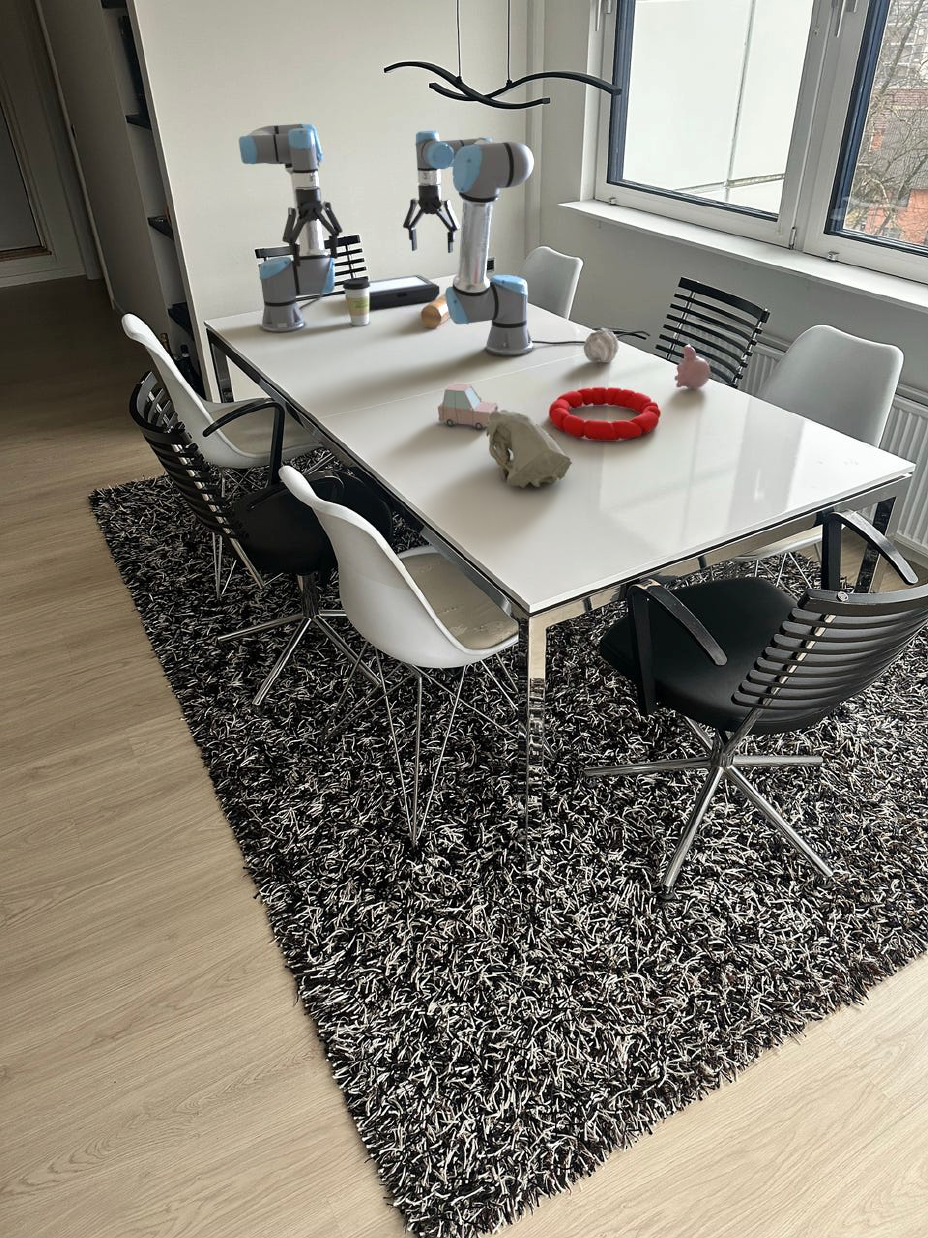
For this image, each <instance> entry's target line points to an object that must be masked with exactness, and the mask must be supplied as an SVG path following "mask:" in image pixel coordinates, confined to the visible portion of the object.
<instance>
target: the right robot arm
mask: <svg viewBox="0 0 928 1238" xmlns="http://www.w3.org/2000/svg"><path fill="white" fill-rule="evenodd" d="M414 144H415V149H416V150H415V152H416V169H417V183H418V186H417V189H418V199H416V198H415V197H414V198H411V199H410V200H409V208H408V211H407V213H406V216H405V219H404V221H403V224H402V227H403V229H406V230H408V239H409V241H411V251H412V252H414V251H416V250H418V241H417V238H418V237H417V229H416V228H415V227H416V225H417V224H418V223H419V221H420V220H421V218H422V217H423V215H424V214H425V215H431V216H432V215H436V216H437V217H438V218H439V219H440V221H441V222H442V224H443V225H444V226H445V227H446V229H447V230H448V232H447V233H446V234H447V253H448V254H451V253H453V252H454V242H455V241H456V232H457V231H459V230H460V229H461V231H460V245H459V259H458V260H459V261H458V273H457V274H456V275H454V277H453V279H452V286H448V287H447V288H446V289H445V293H444V294H445V297H446V304H447V308H448V312H449V315H450V319H451V321H452V322H453V323H454V324H456V325H469V324H476V323H483V322H490V321H491V327H490V331H489V334H488V338H487V340H486V344H485V345H486V351H487V352H488V353H490V354H492V355H495V356H502V357H516V356H521V355H525V354H528V353H530V352H531V351H532V350H533V344H543V345H564V344H565V345H567V344H568V345H569V344H583V345H584V344H585V342H586V340H568V341H543V340H532V337H531V334H530V331H529V327H528V296H529V293H528V282H527V281H526V280H525V279H524V278H522V277H520V276H515V275H509V274H495V275H492V276H491V277H490V280H489V278H488V277H487V267H488V266H487V265H488V255H489V245H490V235H491V233H490V232H491V226H492V225H491V224H492V213H493V212H492V211H493V204H494V203H495V202H496V201H497V200H498V199H499V195H500V190H501V189H508V188H514V187H517V186H519V185H521V184H523V183H524V182H525V181H526V180H527V179H528V178H529V177H530V175H531V174H532V172H533V168H534V156H533V153H532V151H531V150H530V148H528V146H527V145H525V144H524V143H521V142H516V141H505V142H494V141H492V138H489V137H478V138H467V139H452V140H451V139H450V140H440V136H439V132H438V131H436V130H421V131H417V132H416V134H415V143H414ZM448 168H452V176H453V177H452V183H453V186H454V189H455V190H456V191H457V192H458V196H459V197H460V198H461V200H462V202H463V203H462V213H461V214H462V215H461V216H462V217H461V225H460V223H459V221H458V219H457V217H456V215H455V212H454V210H453V208H452V205H451V200H450V199H446V200H442V186H441V181H442V180H441V170H447V169H448ZM417 206H418V207H420V208H419V210H418V211H417V213H416V215H415V216H414V213H415V211H416V207H417ZM442 206H443V208H444V210H443V209H442ZM444 211H445V213H446V214H447V215H446V214H445V213H444ZM413 216H414V218H413ZM634 334H644V335H646V336H648V337H652V335H651V334H650V333H649V332H647V331H645V330H634V331H629V332H623V333H619V334H617V335H615V336H616V338H617V339H618V338H621V337H623V336H630V335H634Z"/></svg>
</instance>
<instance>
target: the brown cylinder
mask: <svg viewBox="0 0 928 1238" xmlns="http://www.w3.org/2000/svg"><path fill="white" fill-rule="evenodd" d="M420 318H421V321H422V324H423V325H425V326H426V327H427V328H430V329H436V328H437V327H439V326H441V325H442V324H444V323H445V321H447V320H448V319H449V318H450V319H451V317H450V315H449V312H448V308H447V304H446V297H445V293H442V294H441V295H440V296H438V297H437V298H436V299H435V300H434V301H430V303H429V304H427V305H425V306H424V307H423V308H422V309H421V313H420Z"/></svg>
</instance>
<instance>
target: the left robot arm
mask: <svg viewBox="0 0 928 1238" xmlns="http://www.w3.org/2000/svg"><path fill="white" fill-rule="evenodd" d="M238 145H239V153H240V159H241V162H242V164H244V165H258V164H268V165H284V169H285V171H286V172H287V173H288V174H289V175H290V180H291V187H292V195H293V203H294V207H288V208H287V219H286V224H285V228H284V231H283V235H282V240H281V241H282V242H283V243H286V244H288V249H289V254H290V256H292V258H291V257H290V256H277V257H273V258H270V259H267V260H264V261H263V262H261V263H260V265H259V266H258V270H259V280H260V285H261V286H260V287H261V292H262V299H263V313H262V319H261V326H262V330H264V331H265V332H271V333H286V332H293V331H296V330H297V331H298V330H300V329H302V328H304V326H305V319H304V317H303V314H302V312H301V310H302V309H303V308H305V307H307V306H309V305H311V304H313V303H315V302H317V301H318V300H320V299H321V298H322V297H323V296H324V294H331V293H333V291H334V290H335V282H336V281H335V276H336V275H335V274H336V272H335V271H336V270H335V268H336V267H335V260H337V259H338V249H337V247H339V238H338V237H339V236H340V234H341V233H343V229H342V226H341V224H340V223H339V221H338V219H337V217H336V215H335V213H334V211H333V209H332V204H331V202H328V201H323V203H322V194H321V193H322V192H321V188H320V176H319V169H320V163H322V162H323V161H324V158H323V153H322V149H321V144H320V139H319V135H318V131H317V129H316V127H315V126H314V125H313V124H311V123H293V124H276V125H274V124H273V125H266V126H263V127H260V128H257V129H254V130H252V131H251V132H250V133H249V134H247V135H242V136H239V138H238ZM322 211H324V212H325V215H326V216H327V218H328V220H327V218H326V217H325V216H324V214H323V213H322ZM323 227H324V228H325V230H326V231H327V232H328V233H329V234H330V235H328V243H329V251H328V250H327V249H326V248H325V240H324V232H323V231H324V230H323ZM297 240H298V242H299V243H297ZM314 295H319V296H318V297H316V298H315V299H312V300H311V301H309V302H307V303H304V304H302V305H301V306H298V305H299V304H298V303H297V297H300V296H301V297H302V296H303V297H304V296H314Z"/></svg>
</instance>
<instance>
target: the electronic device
mask: <svg viewBox="0 0 928 1238" xmlns="http://www.w3.org/2000/svg"><path fill="white" fill-rule="evenodd" d="M368 282H369V283H370V287H369V311H371V310H378V309H383V308H392V307H399V306H405V305H406V306H407V305H413V304H418V303H419V304H420V303H427V302H433V301H434V300H436V299H437V298H438V297H439V295H440V285H437V284H436V283H434V282H432V281H430V280H429V279H427V278H425V277H423V276H422V275H421V274H420V275H419V274H413V275H408V276H399V277H393V278H386V279H378V280H369V281H368Z"/></svg>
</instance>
